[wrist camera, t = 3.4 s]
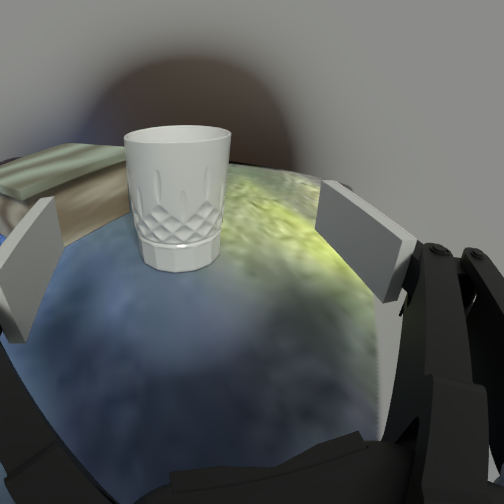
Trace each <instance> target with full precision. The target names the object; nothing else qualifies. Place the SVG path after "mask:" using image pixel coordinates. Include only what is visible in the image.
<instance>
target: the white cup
mask: <svg viewBox="0 0 504 504" xmlns="http://www.w3.org/2000/svg"><path fill="white" fill-rule="evenodd" d="M230 140H231V132H229V131H228V130H225V129H221V128H216V127H208V126H191V125H185V126H183V125H181V126H163V127H154V128H148V129H142V130H138V131H134V132H131V133H128V134H127V135H125V136H124V144H125V157H126V167H127V176H128V185H129V193H130V199H131V206H132V211H133V218H134V224H135V228H136V230H137V236H138V242H139V249H140V254H141V256H142V258H143V260H144V262H145V263H146V264H148V265H149V266H151V267H153V268H155V269H157V270H161V271H167V272H175V273H177V272H186V271H194V270H197V269H200V268H202V267H205V266H207V265H209V264H211V263H212V262H213V261H214V260H215V259H216V258H217V257H218V255H219V250H220V233H221V225H222V223H223V214H224V207H225V194H226V188H227V174H228V162H229V150H230Z"/></svg>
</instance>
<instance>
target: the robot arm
mask: <svg viewBox="0 0 504 504" xmlns="http://www.w3.org/2000/svg"><path fill="white" fill-rule="evenodd" d="M315 230H316V231H317V232H318V233H319V234H320V235H321V236H322V237H323V238H324V239H325V240H326V241H327V242H328V243H329V244H330V246H331V247H332V248H333V249H334V250H335V251H336V252H337V253H338V254H339V255H340V256H341V257H342V258H343V260H344V261H345V262H346V263H347V264H348V265H349V266H350V267H351V268H352V269H353V271H354V272H355V273H356V274H357V275H358V276H359V277H360V278H361V279H362V280H363V282H364V283H365V284H366V285H367V286H368V287H369V288H370V289H371V291H372V292H373V293H374V294H375V295H376V296H377V297H378V298H379V300H380V301H381V302H382V303H388V302H392V301H397V300H398V297H399V294H400V291H401V289H402V288H403V289H404V290H405V291H406V292H407V295H406V298H405V301H404V304H403V306H402V309H401V311H400V314H399V316H402V314H403V322H402V332H401V339H400V347H399V348H400V349H399V355H398V362H397V369H396V375H395V381H394V387H393V393H392V398H391V403H390V408H389V414H388V418H387V422H386V427H385V431H384V435H383V437H382V440H381V441H363V439H362V437H361V435H360V433H359V431H356V432H353V433H350V434H347V435H344V436H341V437H338V438H335V439H332V440H329V441H326V442H323V443H319V444H317V445H315V446H313V447H312V448H310V449H308V450H306V451H304V452H303V453H301V454H299V455H297V456H295V457H294V458H292V459H290V460H288V461H286V462H284V463H282V464H280V465H278V466H275V467H270V468H256V467H227V466H216V467H209V468H201V469H193V470H184V471H173V472H169V473H170V479H171V483H169V484H166V485H163V486H161V487H159V488H157V489H154V490H152V491H150V492H149V493H147V494H145V495H144V496H142V497H141V498H140V499H138V500H137V501H136V502H135V503H134V504H504V278H503V276H502V275H501V273H500V272H499V271H498V269H497V268H496V266H495V265H494V264H493V262H492V261H491V260H490V258H489V257H488V256H487V255H486V254H484V253H483V252H482V251H481V250H479V249H476V248H465V249H464V252H463V254H462V257H461V258H455V257H453V255H452V253H451V252H450V251H449V250H448V249H447V248H445V247H443V246H442V245H439V244H434V243H426V244H422V243H421V242H420V241H418V240H417V239H416V238H415V237H414V236H412V235H411V234H410V233H409V232H407V231H406V230H404V229H403V228H402V227H401V226H399V225H398V224H396V223H395V222H393V221H392V220H391V219H390V218H388V217H387V216H386V215H384V214H383V213H381V212H380V211H379V210H377V209H376V208H374V207H373V206H372V205H370V204H368V203H367V202H366V201H364V200H363V199H362V198H360V197H359V196H357V195H356V194H354V193H353V192H351V191H350V190H348V189H347V188H345V187H344V186H342V185H341V184H339V183H338V182H336V181H334V180H322V181H321V189H320V196H319V203H318V210H317V217H316V224H315ZM64 249H65V248H64V244H63V240H62V235H61V231H60V226H59V221H58V216H57V210H56V205H55V199H54V196H53V197H46V198H40V199H39V200H38V201H37V203H36V204H35V205H34V206H33V207H32V208H31V209H30V210H29V212H28V213H27V214H26V215H25V216H24V218H23V219H22V220H21V221H20V222H19V224H18V225H17V226H16V227H15V228H14V230H13V231H12V232H11V233H10V235H9V236H8V237H7V239H6V240H5V241H4V242H3V244H2V245H1V246H0V335H1V333H2V331H3V333H4V335H5V337H6V339H7V340H8V342H9V343H26V342H27V339H28V336H29V333H30V330H31V327H32V325H33V322H34V319H35V316H36V314H37V311H38V309H39V306H40V303H41V301H42V298H43V296H44V293H45V291H46V289H47V286H48V284H49V282H50V279H51V277H52V275H53V272H54V270H55V268H56V266H57V263H58V261H59V259H60V257H61V255H62V253H63V251H64ZM476 294H477V295H476ZM475 296H476V299H475V301H474V303H473V300H474V298H475ZM489 446H490V450H491V454H492V456H493V459H494V462H495V465H496V468H497V470H498V472H499V474H500V476H499V477H498V478H497V479H496V480H495V481H494V483H492V482H489V481H488V462H489V461H488V460H489ZM0 461H1V463H2V465H3V467H4V469H5V471H6V473H7V477H6V478H4V482H5V486H6V488H7V490H8V492H9V493H10V495H11V497H12V498H13V500H14V502H15V503H16V504H119V503H118V502H117V501H116V500H115V499H114V498H113V497H112V496H111V495H110V494H109V493H108V492H107V491H106V490H105V489H104V488H103V487H102V486H101V485H100V484H99V483H98V482H97V481H96V480H95V479H94V478H93V477H92V476H91V474H90V473H89V472H88V471H87V470H86V469H85V468H84V466H83V465H82V464H81V463H80V462H79V461H78V459H77V458H76V457H75V456H74V455H73V453H72V452H71V451H70V450H69V448H68V447H67V446H66V445H65V443H64V442H63V441H62V439H61V438H60V437H59V435H58V434H57V433H56V431H55V430H54V429H53V427H52V426H51V425H50V423H49V422H48V420H47V419H46V417H45V416H44V415H43V413H42V412H41V410H40V409H39V407H38V406H37V404H36V403H35V401H34V399H33V398H32V396H31V395H30V393H29V392H28V390H27V388H26V387H25V385H24V383H23V382H22V380H21V378H20V377H19V375H18V373H17V371H16V370H15V368H14V366H13V364H12V362H11V360H10V359H9V357H8V355H7V353H6V351H5V349H4V347H3V345H2V343H1V342H0Z"/></svg>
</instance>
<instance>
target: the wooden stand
mask: <svg viewBox="0 0 504 504" xmlns="http://www.w3.org/2000/svg"><path fill="white" fill-rule="evenodd" d="M53 196H54V199H55V205H56V210H57V216H58V221H59V226H60V231H61V235H62V240H63V244H64V247H66V246H68V245H69V244H71V243H73V242H75V241H76V240H78V239H80V238H82V237H84V236H85V235H87V234H89V233H91V232H93V231H95V230H96V229H98V228H100V227H102V226H104V225H106V224H108V223H109V222H111V221H113V220H115V219H117V218H119V217H121V216H123V215H125V214H127V213H129V212H130V208H129V197H128V185H127V171H126V157H125V147H117V146H106V145H92V144H75V143H65V144H62V145H59V146H56V147H52V148H49V149H46V150H43V151H40V152H37V153H34V154H31V155H28V156H25V157H22V158H20V159H17V160H14V161H12V162H9V163H6V164H4V165H1V166H0V234H2V235H3V236H5V237H6V238H7V237H8V236H9V235H10V233H11V232H12V231H13V230H14V228H15V227H16V226H17V225H18V224H19V222H20V221H21V220H22V219H23V218H24V216H25V215H26V214H27V213H28V212H29V210H30V209H31V208H32V207H33V206H34V205H35V204H36V203H37V201H38V200H39V199H40V198H46V197H53Z"/></svg>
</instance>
